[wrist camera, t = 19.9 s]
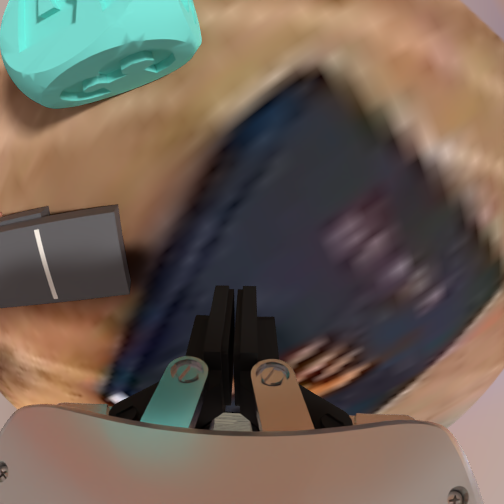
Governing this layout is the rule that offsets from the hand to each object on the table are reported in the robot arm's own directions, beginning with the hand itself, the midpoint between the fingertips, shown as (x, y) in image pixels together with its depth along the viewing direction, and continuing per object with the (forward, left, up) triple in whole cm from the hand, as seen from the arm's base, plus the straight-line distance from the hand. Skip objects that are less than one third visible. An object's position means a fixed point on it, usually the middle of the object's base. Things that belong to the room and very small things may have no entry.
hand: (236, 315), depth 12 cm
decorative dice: (+14, +7, -7) cm, 17 cm away
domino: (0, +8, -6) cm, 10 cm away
